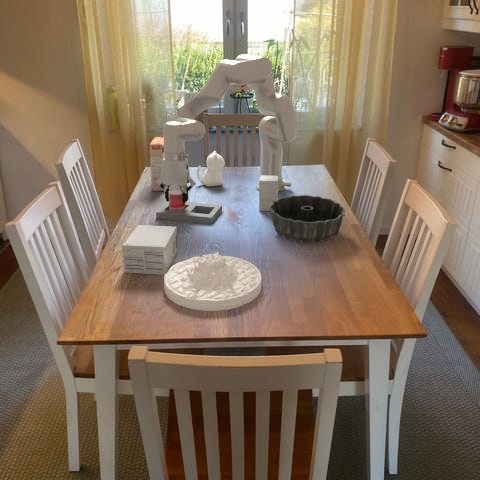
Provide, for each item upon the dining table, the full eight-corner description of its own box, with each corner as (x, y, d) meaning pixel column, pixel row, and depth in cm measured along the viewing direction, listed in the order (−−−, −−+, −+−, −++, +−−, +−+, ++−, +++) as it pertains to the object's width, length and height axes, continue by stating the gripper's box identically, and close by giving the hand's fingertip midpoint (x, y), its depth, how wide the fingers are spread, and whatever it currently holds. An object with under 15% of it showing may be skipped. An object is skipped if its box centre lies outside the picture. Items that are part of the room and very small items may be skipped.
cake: (209, 257, 170) (209, 229, 166) (280, 283, 154) (281, 254, 150) (143, 289, 150) (141, 259, 147) (216, 324, 134) (216, 291, 130)
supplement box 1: (166, 275, 158) (164, 247, 154) (123, 273, 159) (121, 245, 155) (178, 251, 173) (177, 225, 169) (139, 250, 174) (137, 223, 171)
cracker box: (165, 191, 229) (162, 144, 221) (151, 191, 229) (148, 144, 221) (169, 181, 242) (167, 136, 234) (156, 181, 242) (154, 136, 234)
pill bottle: (188, 212, 204) (187, 184, 199) (173, 215, 201) (172, 187, 196) (180, 207, 209) (179, 180, 204) (166, 210, 205) (165, 183, 201)
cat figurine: (225, 187, 235) (225, 154, 229) (197, 188, 233) (196, 155, 227) (223, 181, 243) (223, 149, 237) (196, 182, 242) (195, 150, 236)
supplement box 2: (277, 205, 214) (278, 175, 209) (277, 211, 207) (278, 181, 202) (259, 204, 215) (260, 174, 210) (258, 211, 208) (259, 180, 203)
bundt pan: (347, 250, 175) (350, 222, 171) (268, 248, 176) (269, 220, 172) (339, 221, 199) (341, 196, 195) (269, 219, 200) (270, 194, 196)
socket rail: (222, 211, 208) (222, 205, 207) (211, 223, 195) (211, 217, 194) (169, 206, 212) (169, 200, 211) (156, 218, 200) (155, 212, 199)
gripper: (199, 154, 197) (201, 200, 204) (156, 151, 201) (159, 196, 208) (193, 159, 190) (195, 206, 198) (149, 156, 194) (152, 202, 202)
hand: (176, 200), depth 203 cm, fingers closed on pill bottle, 6 cm apart
